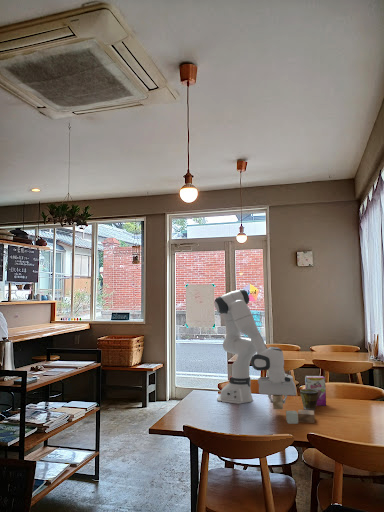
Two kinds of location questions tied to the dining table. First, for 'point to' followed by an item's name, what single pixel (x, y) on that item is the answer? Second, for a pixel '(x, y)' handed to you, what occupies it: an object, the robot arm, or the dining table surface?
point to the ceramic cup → (309, 398)
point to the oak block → (277, 402)
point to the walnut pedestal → (306, 416)
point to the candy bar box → (317, 388)
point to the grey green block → (292, 417)
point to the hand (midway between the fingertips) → (278, 402)
